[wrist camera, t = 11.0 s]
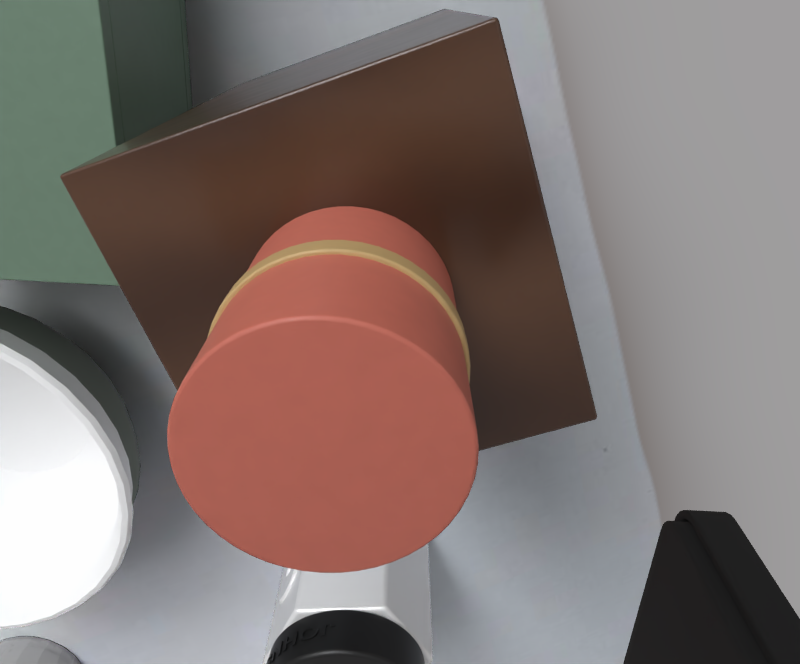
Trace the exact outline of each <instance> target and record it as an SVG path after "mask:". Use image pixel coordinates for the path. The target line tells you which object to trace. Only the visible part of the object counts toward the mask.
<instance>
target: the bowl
mask: <svg viewBox="0 0 800 664" xmlns="http://www.w3.org/2000/svg"><path fill="white" fill-rule="evenodd" d="M140 467H141V465H140V458H139V451H138V444H137V438H136V435H135V432H134V428H133V425H132V422H131V420H130V417H129V414H128V412H127V409H126V407H125V404H124V401H123V399H122V398H121V396H120V395H119V393H118V391H117V390H116V388H115V387H114V385H113V383H112V382H111V380H110V379H109V377H108V376H107V375H106V374H105V373H104V372H103V370H102V369H101V368H100V367H99V366H98V365H97V364H96V363H95V362H94V360H93V359H92V358H91V357H90V356H89V355H88V354H87V353H85V352H84V351H83V350H82V349H80V348H79V347H78V346H77V345H75V344H74V343H73V342H72V341H70V340H69V339H68V338H67V337H65V336H64V335H63V334H61V333H59V332H57V331H56V330H54V329H52V328H50V327H49V326H47V325H45V324H43V323H42V322H40V321H38V320H36V319H34V318H32V317H29V316H26V315H24V314H21V313H19V312H16V311H13V310H11V309H8V308H6V307H1V306H0V629H7V628H16V627H25V626H29V625H32V624H36V623H39V622H43V621H47V620H50V619H54V618H56V617H58V616H60V615H62V614H64V613H66V612H68V611H70V610H72V609H74V608H76V607H78V606H80V605H82V604H83V603H85V602H86V601H87V600H89V599H90V598H91V597H92V596H93V595H95V594H96V593H97V592H98V591H100V590H101V589H102V588H103V587H105V586H106V584H107V583H108V581H109V580H110V579H111V577H112V576H113V575H114V573H115V572H116V571H117V569H118V568H119V567H120V565H121V563H122V561H123V558H124V556H125V553H126V551H127V548H128V545H129V543H130V540H131V532H132V522H133V503H134V500H135V497H136V495H137V492H138V487H139V477H140Z"/></svg>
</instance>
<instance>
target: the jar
mask: <svg viewBox="0 0 800 664" xmlns="http://www.w3.org/2000/svg"><path fill="white" fill-rule="evenodd" d="M432 660H433V641H432V618H431V594H430V571H429V547H428V544H426V545H425V546H424V547H422V548H420V549H418V550H417V551H415V552H413V553H412V554H410V555H408V556H406V557H403V558H401V559H399V560H396V561H394V562H391V563H388V564H385V565H382V566H379V567H375V568H371V569H366V570H361V571H353V572H343V573H319V572H308V571H301V570H296V569H290V568H285V567H283V571H282V575H281V580H280V584H279V589H278V594H277V598H276V603H275V607H274V612H273V617H272V621H271V626H270V631H269V635H268V640H267V644H266V649H265V654H264V658H263V664H430V663H431V662H432Z"/></svg>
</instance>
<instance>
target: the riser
mask: <svg viewBox="0 0 800 664" xmlns="http://www.w3.org/2000/svg"><path fill="white" fill-rule="evenodd" d="M60 178H61V180H62V182H63V184H64V186H65V187H66V189H67V191H68V193H69V195H70V197H71V198H72V200H73V202H74V204H75V206H76V207H77V209H78V211H79V213H80V215H81V217H82V218H83V220H84V222H85V224H86V226H87V227H88V229H89V231H90V233H91V235H92V237H93V238H94V240H95V242H96V244H97V246H98V247H99V249H100V251H101V253H102V255H103V257H104V258H105V260H106V262H107V264H108V266H109V267H110V269H111V271H112V273H113V275H114V276H115V278H116V280H117V282H118V284H119V286H120V287H121V289H122V291H123V293H124V295H125V296H126V298H127V300H128V302H129V304H130V306H131V307H132V309H133V311H134V313H135V315H136V316H137V318H138V320H139V322H140V324H141V326H142V327H143V329H144V331H145V333H146V335H147V336H148V338H149V340H150V342H151V344H152V346H153V347H154V349H155V351H156V353H157V355H158V356H159V358H160V360H161V362H162V364H163V365H164V367H165V369H166V371H167V373H168V375H169V376H170V378H171V380H172V382H173V384H174V385H175V387H176V389H177V391H178V389H179V387H180V385H181V383H182V381H183V379H184V377H185V376H186V374H187V372H188V371H189V369H190V367H191V365H192V364H193V362H194V360H195V359H196V357H197V355H198V354H199V352H200V350H201V348H202V347H203V345H204V343H205V342H206V340H207V337H208V334H209V330H210V327H211V324H212V321H213V319H214V317H215V315H216V313H217V311H218V309H219V307H220V305H221V304H222V302H223V300H224V299H225V297H226V296H227V294H228V293H229V291H230V290H231V288H232V287H233V286H234V284H235V283H236V282H237V281H238V280H239V279H240V278H241V277H242V276H243V275H244V274H245V273H246V272H247V270H248V268H249V267H250V265H251V263H252V261H253V260H254V258H255V256H256V255H257V253H258V252H259V250H260V249H261V247H262V246H263V245H264V243H265V242H266V241H267V240H268V239H269V238H270V237H271V236H272V235H273V234H274V233H275V232H276V231H277V230H279V229H280V228H281V227H282V226H284V225H285V224H287V223H288V222H290V221H292V220H293V219H295V218H297V217H299V216H302V215H304V214H306V213H309V212H312V211H316V210H319V209H323V208H330V207H337V206H354V207H362V208H369V209H373V210H376V211H380V212H383V213H386V214H388V215H391V216H393V217H396V218H397V219H399V220H401V221H403V222H405V223H407V224H408V225H410V226H411V227H412V228H414V229H415V230H416V231H418V232H419V233H420V234H421V235H422V236H423V237H424V238H425V239H426V240H427V241H428V242H429V243H430V244H431V245H432V246H433V248H434V249H435V250H436V251H437V253H438V254H439V256H440V258H441V259H442V261H443V263H444V264H445V266H446V269H447V271H448V274H449V276H450V279H451V283H452V287H453V291H454V297H455V303H456V309H457V312H458V314H459V317H460V319H461V321H462V324H463V327H464V331H465V335H466V338H467V343H468V349H469V357H470V383H469V386H470V391H471V397H472V403H473V409H474V415H475V421H476V427H477V434H478V444H479V451H480V450H484V449H487V448H491V447H495V446H498V445H502V444H506V443H510V442H513V441H517V440H521V439H524V438H528V437H532V436H536V435H539V434H543V433H547V432H550V431H554V430H558V429H562V428H565V427H569V426H573V425H577V424H580V423H584V422H588V421H591V420H595V419H596V418H597V414H596V410H595V406H594V402H593V398H592V394H591V390H590V386H589V381H588V377H587V373H586V369H585V365H584V361H583V357H582V353H581V349H580V345H579V341H578V337H577V333H576V329H575V325H574V321H573V317H572V313H571V309H570V305H569V301H568V297H567V293H566V289H565V285H564V281H563V277H562V273H561V269H560V265H559V261H558V257H557V253H556V249H555V245H554V241H553V237H552V233H551V229H550V225H549V221H548V217H547V213H546V209H545V205H544V201H543V197H542V192H541V188H540V184H539V180H538V176H537V172H536V168H535V164H534V160H533V156H532V152H531V148H530V144H529V140H528V136H527V132H526V128H525V124H524V120H523V116H522V112H521V108H520V104H519V100H518V96H517V92H516V88H515V84H514V80H513V76H512V72H511V68H510V64H509V60H508V56H507V52H506V48H505V44H504V40H503V36H502V32H501V28H500V24H499V20H498V19H497V18H494V17H488V16H482V15H477V14H471V13H465V12H459V11H453V10H447V9H443V10H441V11H438V12H435V13H432V14H430V15H427V16H424V17H421V18H419V19H416V20H413V21H411V22H408V23H405V24H402V25H400V26H397V27H394V28H392V29H389V30H386V31H383V32H381V33H378V34H375V35H372V36H370V37H367V38H364V39H362V40H359V41H356V42H353V43H351V44H348V45H345V46H343V47H340V48H337V49H334V50H332V51H329V52H326V53H323V54H321V55H318V56H315V57H313V58H310V59H307V60H304V61H302V62H299V63H296V64H294V65H291V66H288V67H285V68H283V69H280V70H277V71H274V72H272V73H269V74H266V75H264V76H261V77H258V78H255V79H253V80H250V81H247V82H245V83H242V84H240V85H238V86H236V87H234V88H232V89H230V90H228V91H226V92H224V93H222V94H220V95H218V96H216V97H214V98H212V99H210V100H208V101H206V102H204V103H202V104H200V105H198V106H196V107H194V108H192V109H190V110H188V111H186V112H184V113H182V114H180V115H178V116H176V117H174V118H172V119H170V120H168V121H166V122H164V123H162V124H160V125H158V126H156V127H154V128H152V129H150V130H148V131H146V132H144V133H142V134H140V135H138V136H136V137H134V138H132V139H130V140H128V141H126V142H124V143H122V144H120V145H118V146H116V147H114V148H112V149H110V150H108V151H106V152H104V153H102V154H100V155H98V156H96V157H94V158H92V159H91V160H89V161H87V162H85V163H83V164H81V165H79V166H77V167H75V168H73V169H71V170H69V171H67V172H65V173H63V174H61V176H60Z"/></svg>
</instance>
